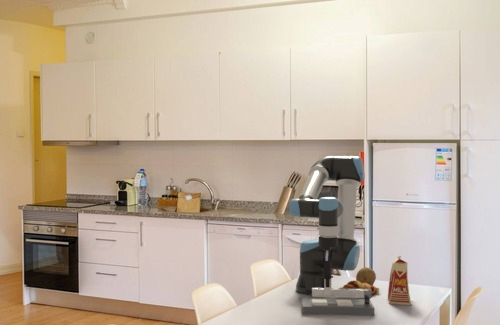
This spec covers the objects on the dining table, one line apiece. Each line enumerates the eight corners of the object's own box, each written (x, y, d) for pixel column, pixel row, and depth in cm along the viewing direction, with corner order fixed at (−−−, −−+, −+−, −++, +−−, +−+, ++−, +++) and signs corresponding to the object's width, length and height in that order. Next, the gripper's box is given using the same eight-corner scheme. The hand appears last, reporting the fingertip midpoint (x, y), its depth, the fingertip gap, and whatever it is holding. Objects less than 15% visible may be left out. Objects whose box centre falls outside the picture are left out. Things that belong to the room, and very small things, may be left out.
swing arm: (311, 294, 229) (311, 287, 229) (371, 296, 227) (371, 288, 227) (312, 297, 226) (312, 289, 226) (372, 298, 224) (372, 291, 224)
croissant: (375, 299, 257) (371, 282, 260) (386, 293, 248) (381, 276, 251) (333, 302, 250) (330, 284, 253) (342, 296, 241) (339, 278, 245)
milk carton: (411, 305, 235) (411, 257, 234) (388, 303, 236) (389, 256, 236) (409, 299, 244) (410, 253, 243) (387, 298, 245) (388, 252, 245)
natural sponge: (364, 292, 255) (364, 270, 255) (351, 287, 263) (352, 266, 263) (379, 289, 260) (379, 268, 260) (366, 285, 268) (367, 264, 267)
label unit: (301, 305, 233) (301, 293, 233) (369, 306, 232) (369, 294, 232) (302, 314, 221) (302, 301, 221) (374, 315, 220) (374, 302, 220)
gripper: (320, 233, 231) (320, 290, 232) (316, 238, 219) (316, 298, 219) (338, 233, 230) (338, 291, 230) (336, 239, 217) (336, 299, 218)
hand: (327, 294), depth 225 cm, fingers closed
